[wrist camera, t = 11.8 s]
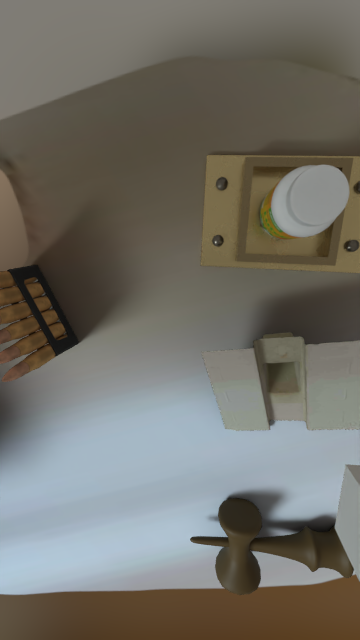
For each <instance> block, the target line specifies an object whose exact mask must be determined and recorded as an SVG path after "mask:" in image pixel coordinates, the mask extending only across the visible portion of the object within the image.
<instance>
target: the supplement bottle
mask: <svg viewBox="0 0 360 640" xmlns="http://www.w3.org/2000/svg"><path fill="white" fill-rule="evenodd" d="M348 198H349V184H348V181H347V178H346V177H345V175H344V174H343V173H342V172H341V171H340V170H339V169H338V168H336V167H334V166H331V165H317V166H316V165H307V166H302V167H299V168H297V169H294V170H293V171H291V172H290V173H288V174H287V175H286V176H284V177H283V178H282V179H281V180H280V181H279V182H278V183H277V184H276V185H275V186H274V187H273V188H272V189H271V190H270V191H269V193H268V194H267V195H266V196H265V198H264V200H263V202H262V204H261V207H260V221H261V224H262V226H263V228H264V230H265V231H266V232H267V233H268V234H269V235H271V236H272V237H274V238H277V239H295V238H304V237H309V236H313V235H316V234H318V233H320V232H322V231H324V230H325V229H326V228H328V227H329V226H330V225H331V224H332V223H333V222H334V220H335V219H336V217H337V216H338V215H340V213H341V212H342V211H343V209H344V208H345V206H346V204H347V201H348Z"/></svg>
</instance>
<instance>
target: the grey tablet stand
mask: <svg viewBox="0 0 360 640" xmlns="http://www.w3.org/2000/svg"><path fill="white" fill-rule="evenodd" d="M253 343H254V347H253V348H249V349H236V350H226V351H225V350H221V351H213V352H211V351H207V352H201V353H202V356H203V359H204V361H205V360H206V361H205V362H204V363H205V366H206V370H207V373H208V374H209V375H208V377H209V378H210V381H211V385H212V386H213V387H212V388H213V391H214V394H215V397H216V401H217V403H218V406H219V410H221V412H220V413H221V415H222V419H223V422H224V424H225V425H224V426H225V429H231V430H236V431H239V430H241V431H244V430H247V431H248V430H250V431H254V430H270V426H269V421H270V420H277V421H278V420H280V421H282V420H288V421H291V420H294V421H296V420H297V421H305V422H306V425H307V429H308V430H321V429H323V430H324V429H327V430H333V429H336V430H337V429H345V430H346V429H352V430H353V429H357V430H359V429H360V341H358V340H356V341H352V342H351V341H346V342H341V343H338V342H333V343H325V344H324V343H320V344H319V345H315V344H308V345H305V343H304V338H302V337H301V336H300V337H293V334H292V333H288V332H287V333H275V334H266V335H264V336H263V339H260V340H254V341H253Z"/></svg>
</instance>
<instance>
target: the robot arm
mask: <svg viewBox="0 0 360 640" xmlns="http://www.w3.org/2000/svg"><path fill="white" fill-rule="evenodd" d="M335 530H336V532H337V534H338V536H339V538H340V541H341V543H342V545H343V547H344V549H345V551H346V553H347V556H348V558H349V560H350V562H351V564H352V566H353V568H354V571H355V573H356V575H357V577H358V579H359V581H360V465H345V471H344V477H343V482H342V488H341V494H340V500H339V505H338V511H337V517H336V523H335Z"/></svg>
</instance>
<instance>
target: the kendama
mask: <svg viewBox="0 0 360 640" xmlns="http://www.w3.org/2000/svg"><path fill="white" fill-rule="evenodd" d="M218 517H219V521H220V525H221V527H222V528H223V530H224V531H225V533H226V534H227V536H228V537H205V536H197V537H192V538H191V539H190V540H191V542H193V543H198V544H204V545H213V546H222V547H224V548H222V549H221V550H220V552H219V554H218V556H217V557H216V565H215V568H216V573H217V578H218V580H219V581H220V583H221V585H222V586H223V587H224V588H225V589H227V590H228V591H230V592H232V593H236V594H239V595H244V594H250V593H252V592H253V591H255V590H256V589H257V588H258V586H259V583H260V580H261V575H260V567H259V564H258V561H257V559H256V558H255V556H254V555H253V553H252V552H251V551H250V550H253V551H259V552H264V553H269V554H273V555H278V556H282V557H286V558H289V559H293V560H296V561H299V562H301V563H303V564H305V565H306V566H308V567H309V569H310V570H311V571H312V572H314V571H316V570H317V569H318V568H330V569H333V570H336V571H338V572H339V573H340V574H341V575H342V576H344V577H345V578H349V577H351V576H352V574H353V571H354V568H353V566H352V564H351V562H350V560H349V558H348V556H347V553H346V551H345V549H344V547H343V545H342V543H341V541H340V538H339V536H338V534H337V532H336V530H335V526H334V527H332V528H331V530H330V531H327V532H316V531H313V530H311V529H310V528H309V527H307V526H306V527H304V529H303V530H302V531H301V532H299V533H296V534H291V535H284V536H274V537H259V538H255V537H256V536H257V535H258V533H259V531H260V529H261V527H262V517H261V514H260V512H259V509H258V508H257V507H256V506H255V505H254V504H253V503H252V502H250V501H248V500H245V499H239V498H230V499H228V500H225V501H223V503H222V504H221V505H220V507H219V512H218Z"/></svg>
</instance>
